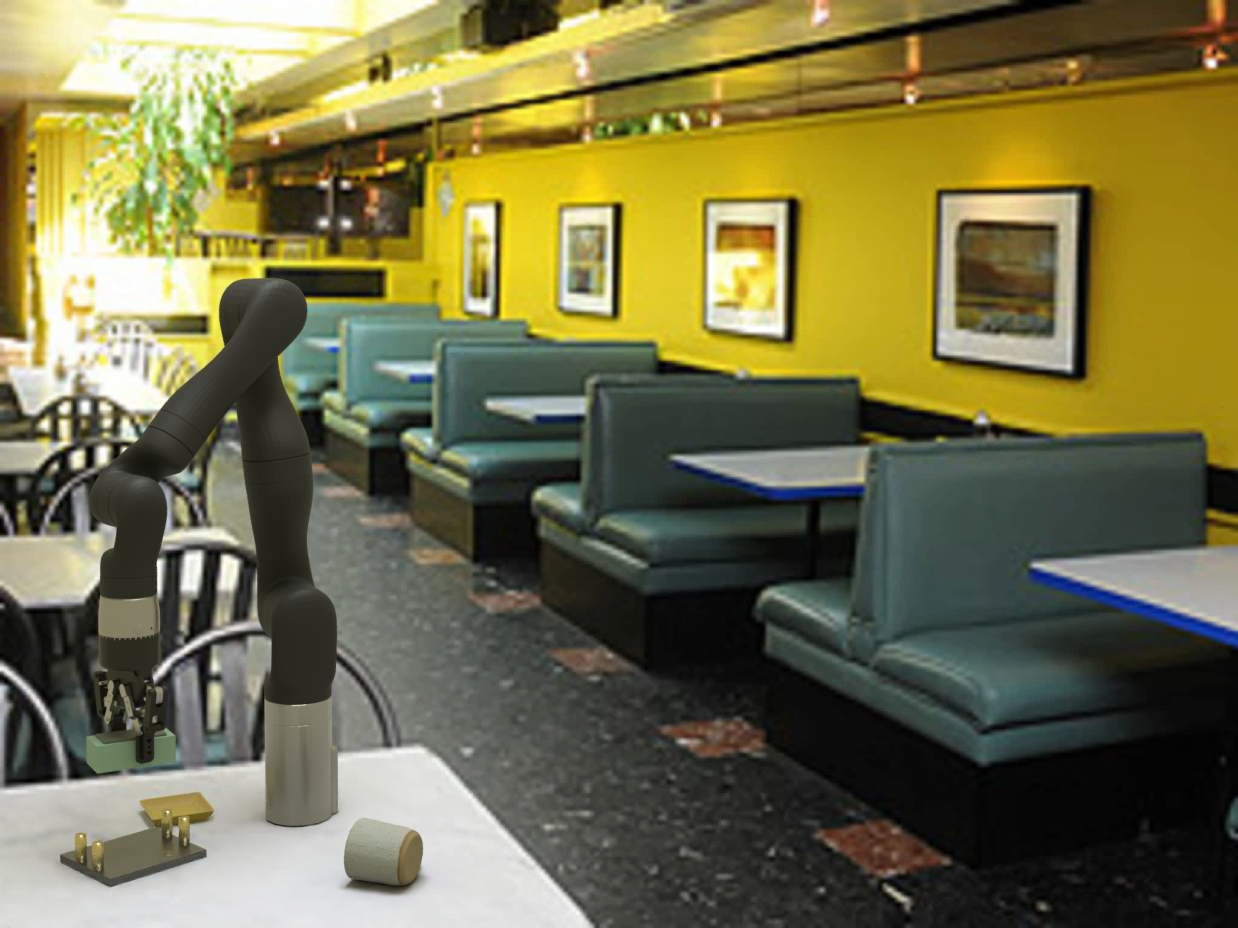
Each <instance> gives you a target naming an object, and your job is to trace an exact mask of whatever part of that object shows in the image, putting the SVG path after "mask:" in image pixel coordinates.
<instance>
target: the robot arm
mask: <svg viewBox="0 0 1238 928" xmlns="http://www.w3.org/2000/svg"><path fill="white" fill-rule="evenodd" d="M308 311H309V310H308V303H307V299H306V297H305V295H304V292H303V291H302V290H301V289H300V288H299V286H297V285H296V284H295V283H293V282H291V281H289V280H286V279H282V278H278V277H277V278H275V277H265V278H264V277H260V278H259V277H258V278H257V277H256V278H254V277H253V278H241V279H237V280H234V281H233V282H231V283H230V284H229V285H227V287H226V288H225V289H224V291H223V293H222V295H221V298H220V300H219V306H218V323H219V327H220V328H219V329H220V332H221V337H222V341H223V346H224V347H222V349H221V350H220V351H219V352H218V353H217V354H216V355H215V356H214V357H213V358H212V360H210V361H209V362H208V363H207V364H206V365H205V366H203V368H201V369H200V370H199V371H198V372H196V373H195V374H194V375H193V376H192V377H191V378H189V379H188V380H187V381H185V383H183V384H182V385H181V386H180V387H179V388H178V389H176V390H175V391H174V393H173V394H171V396H170V397H169V398H168V399H167V400H166V401H165V402H164V403H163V405H162V406H161V408H160V409H159V410H158V411H157V413H156V414H155V416H154V417H153V418H152V420H151V421H150V423H149V424H148V425H147V426H146V428H145V430H144V431H143V432H142V434H141V435H140V436H139V438H138V439H137V440H136V441H134V442H133V443H132V444H130V445H129V446H128V447H127V448H126V449H124V450H123V451H122V452H121V453H120V454H119V455H118V456H117V457H116V458H115V459H114V460H113V461H111V462H110V463H109V464H108V465H107V466H106V467H105V468H104V469H103V470H102V471H101V472H100V474H99V476H98V477H97V478H96V480H95V481H94V483H93V485H92V487H91V490H90V492H89V493H90V494H89V498H88V504H89V509H90V512H91V514H92V516H93V517H94V518H95V519H96V520H97V521H99V522H100V523H101V524H103V525H106V526H109V527H114V528H115V529H116V531H115V539H114V543H113V547H111V548H108V549H107V550H106V551H104V552H103V553H102V554H101V558H100V560H99V561H100V563H99V592H100V594H99V605H98V616H97V617H98V619H97V620H98V622H97V623H98V664H99V665H100V667H101V668H103V669H100V670H95V671H93V674H92V676H93V684H94V693H95V695H94V696H95V704H96V713H97V716H98V717H99V718H101V717H104V723H105V724H106V725H107V728H108V729H107V731H108V732H114V731H122V730H127V722H125V721H126V719H127V717H128V718H129V719H130V720H132V723H133V727H134V729H135V731H136V734H137V735H136V762H137V763H140V764H144V763H148V762H151V761H153V759H154V734H155V732H158V731H162V730H165V728H166V725H167V724H166V723H167V712H168V711H167V710H168V700H169V689H168V687H167V686H166V685H162V686H158V685H156V684H155V680H154V677H153V672H152V671H153V669H154V668H155V667H156V666H158V665H159V664H160V662H161V613H160V610H161V609H160V604H159V597H158V595H159V594H158V559H159V555H160V552H161V548H162V545H163V544H162V543H163V540H164V539H163V538H164V536H165V530H166V527H167V521H168V502H167V497H166V494H165V492H164V489H163V488H162V486H161V485H160V484H159V483H160V482H161V481H162V480H163V479H165V478H167V477H170V476H176V475H177V474H181V473H183V472H184V470H186V469H187V467H188V466H189V465H190V464H191V462H192V460H193V459H194V458H195V457H196V455H197V454H198V453H199V451H200V450H201V448H202V447H203V446H204V444H205V443H206V441H207V440H208V438H209V437H210V436H211V434H212V433H213V431H214V430H215V429H216V427H217V426H218V424H219V423H220V422H221V421H222V419H223V418H224V417H225V416H226V414H228V412H229V411H230V409H231V408H232V407H233V406H234V404H235V410H236V411H235V412H236V418H237V423H238V424H237V426H238V433H239V441H240V453H241V463H242V469H243V471H242V472H243V480H244V485H245V491H246V497H247V506H248V513H249V518H250V519H249V520H250V524H251V525H250V526H251V529H252V535H253V539H254V547H255V554H256V557H255V558H256V610H257V611H256V612H257V619H258V622H259V625H260V628H261V629H262V631H263V632H264V633H265V635H266V636H267V637H268V638H269V639H271V640H270V641H271V648H270V649H271V650H270V651H271V652H270V653H271V654H270V655H271V658H270V672H269V674H268V675H266V677H265V679H264V683H263V690H264V691H263V693H264V695H263V696H264V763H265V764H264V770H265V772H264V778H265V781H264V783H265V789H264V791H265V797H264V799H265V818H266V820H267V821H268V822H271V823H274V824H276V825H280V826H281V825H282V826H290V827H291V826H293V827H297V826H300V827H301V826H309V825H314V824H318V823H321V822H325V821H326V820H328V819H329V818H331V817H332V815H333V814H335V813H339V766H338V765H339V750H338V747H337V746H336V745H333V719H332V718H333V716H332V715H333V712H332V709H333V705H332V700H333V699H332V697H333V696H332V691H333V690H332V689H333V687H332V686H333V682H334V680H335V677H336V672H337V656H338V655H337V653H338V618H337V612H336V607H335V605H334V603H333V601H332V599H331V598H330V597H329V596H328V595H327V594H326V593H325V592H323V590H320V589H319V588H317V587H316V585H315V582H314V579H313V573H312V568H311V564H310V563H311V562H310V557H309V551H308V550H309V548H308V530H309V524H310V516H311V511H312V505H313V497H314V475H313V473H314V472H313V465H312V464H313V463H312V462H313V461H312V455H311V447H310V441H309V438H308V435H307V432H306V429H305V427H304V425H303V424H304V423H303V422H302V420H301V417H300V416H299V414H298V412H297V410H296V408H295V406H294V404H293V402H292V400H291V399H290V396H289V394H288V393H287V392H288V391H287V390H286V388H285V386H284V383H283V379H282V374H281V370H280V363H279V356H280V355H282V353H283V352H284V351H285V350H287V349H288V347H289V346H290V345H291V344H292V343H293V342H294V341H295V340H296V339H297V338H298V336H300V334H301V333H302V331H303V330H304V328H305V326H306V322H307V318H308ZM139 708H144V709H139ZM138 709H139V710H138ZM156 716H157V718H155V717H156ZM141 717H143V721H142V718H141Z"/></svg>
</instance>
